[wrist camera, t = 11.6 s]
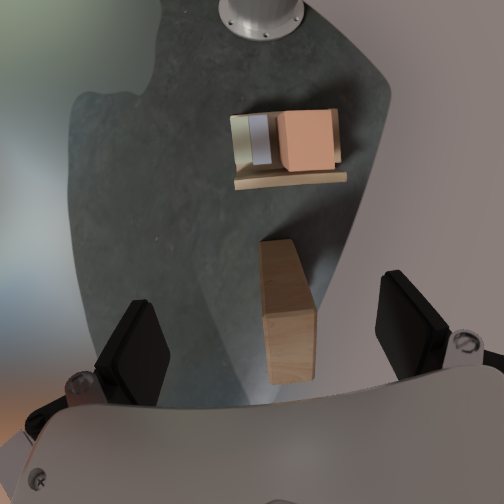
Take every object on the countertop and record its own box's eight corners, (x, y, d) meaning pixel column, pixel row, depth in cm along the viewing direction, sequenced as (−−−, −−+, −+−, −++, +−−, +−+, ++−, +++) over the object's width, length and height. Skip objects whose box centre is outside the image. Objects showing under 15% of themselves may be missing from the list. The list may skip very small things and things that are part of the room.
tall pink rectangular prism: (274, 117, 38) (284, 110, 27) (309, 115, 38) (331, 109, 27) (278, 161, 40) (289, 171, 29) (312, 158, 40) (334, 169, 29)
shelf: (231, 116, 38) (226, 112, 31) (326, 110, 38) (342, 105, 30) (238, 179, 42) (235, 190, 35) (330, 172, 41) (346, 181, 34)
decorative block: (294, 296, 50) (314, 382, 32) (262, 299, 50) (268, 387, 32) (293, 237, 46) (320, 310, 27) (257, 240, 46) (262, 315, 27)
